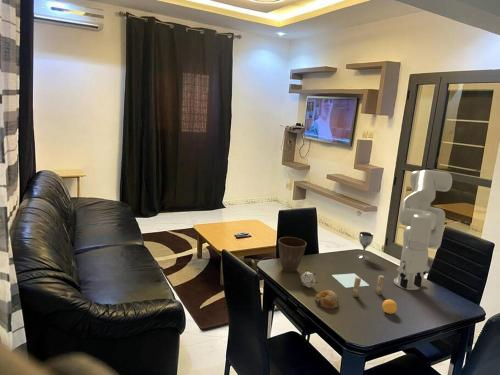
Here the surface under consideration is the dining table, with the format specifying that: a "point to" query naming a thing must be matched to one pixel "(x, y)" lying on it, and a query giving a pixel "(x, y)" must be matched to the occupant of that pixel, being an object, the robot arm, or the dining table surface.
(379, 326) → the dining table surface
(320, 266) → the dining table surface
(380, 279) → the post
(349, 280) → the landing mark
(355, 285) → the post
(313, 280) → the game die
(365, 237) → the wine glass
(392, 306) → the ball
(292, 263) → the plant pot
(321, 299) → the bread roll
